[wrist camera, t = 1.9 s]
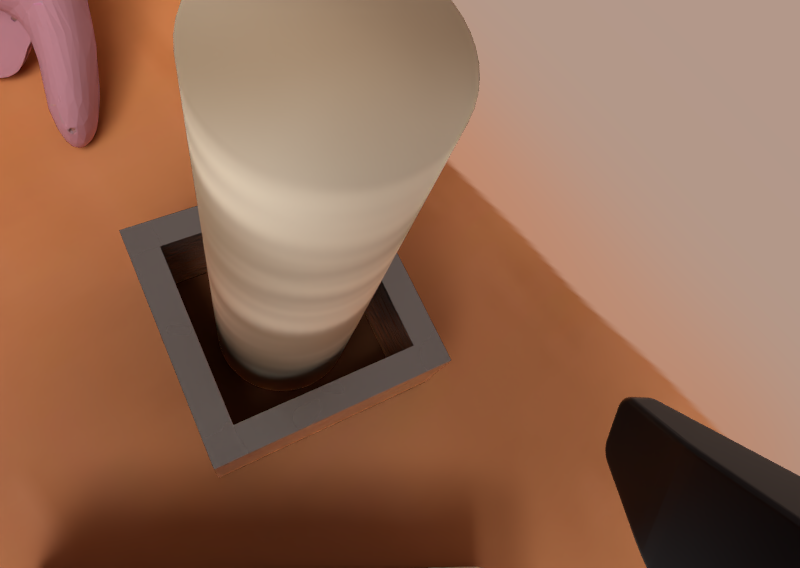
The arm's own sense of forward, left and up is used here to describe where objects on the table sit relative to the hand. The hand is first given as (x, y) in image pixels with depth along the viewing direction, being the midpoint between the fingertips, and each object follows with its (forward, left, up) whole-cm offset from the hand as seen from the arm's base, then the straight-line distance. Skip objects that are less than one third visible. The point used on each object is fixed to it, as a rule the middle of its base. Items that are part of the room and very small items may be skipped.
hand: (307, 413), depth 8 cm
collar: (+4, -2, -11) cm, 12 cm away
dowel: (+4, -2, -11) cm, 12 cm away
